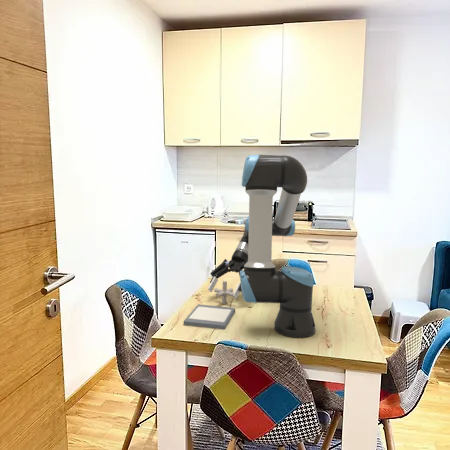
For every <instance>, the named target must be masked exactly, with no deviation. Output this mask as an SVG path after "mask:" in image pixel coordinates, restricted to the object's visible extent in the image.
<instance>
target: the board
mask: <svg viewBox="0 0 450 450" xmlns="http://www.w3.org/2000/svg"><path fill="white" fill-rule="evenodd" d="M235 313H236V307H231V306H218V305H208V304H197V305H196V306H195V307H194V308H193V309H192V311H191V312H190V313H189V314H188V315H187V316H186V318H185V319H184V320H183V326H188V327H197V328H198V327H200V328H207V329H215V330H217V329H218V330H226V328H227V327H228V325H229V323H230V321H231V320H232V317H233V316H234V314H235Z"/></svg>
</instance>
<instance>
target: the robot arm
mask: <svg viewBox="0 0 450 450" xmlns="http://www.w3.org/2000/svg"><path fill="white" fill-rule="evenodd" d="M307 185H308V174H307V171H306V169H305V167H304V166H303V164H302V163H301V162H300V161H299V160H298V159H296V158H295V157H292V156H290V155H285V154H284V155H278V154H277V155H276V154H273V155H271V154H250V155H249V154H248V156H247V157H245V160H244V165H243V171H242V177H241V186H242V187H243V188H244V187H245V189H244V190H245V192H246V194H247V195H248V197H249V198H248V200H249V203H248V207H249V208H248V216H247V218H246V219H245V223H244V229H243V234H242V236H241V239H240V240H239V242H238V244H237V246H236V248H235V250H234V252H233V253H232V256H231V259H230V260H228V259H226V258H224V260H223V261H222V262H221V263H220V264H219V265H218V266H217V267H216V268H215V269H213V270H212V271H211V272H210V275H211V279H210V282H209V283H210V284H209V285H208V287H207V290H208V292H210V293H212V292H213V290H214V289H215V288H216V285H217V283H218V281H219V280H218V279H220V278H221V277H222V276H224V275H226V274H228V273H230V272H233V273H234V272H235V273H237V274H238V275H239V282H238V283H237V286H236V288H235V290H233V291H234V293H233V296H234V297H233V298H234V299H238V296H239V294H240V293H241V296H242V299H243V301H244V302H246V303H253V304H263V303H264V304H279V310H278V311H277V314H276V317H275V320H274V324H273V329H274V331H275V332H276V333H278V334H280V335H283V336H285V337H289V338H290V337H291V338H297V339H298V338H299V337H301V338H308V337H312V336H313V335H314V334H315V333H316V323H315V319H314V316H313V313H312V312H313V311H312V308H313V307H312V306H313V292H314V289H313V288H314V276H313V274H312V273H311V271H309V270H307V269H304V268H302V267H297V266H296V267H295V266H289V265H287V266H282V267H281V268H280V270H276V265H275V264H274V263H273V262H272V251H273V250H272V249H273V248H272V247H273V244H272V243H273V237H274V236H276V237H293V236H294V235H295V232H296V221H295V220H294V216H295V213H296V211H297V208H298V205H299V201H300V198H301V196H302V193H304V192H305V190H306V188H307ZM278 188H281V192H280V195H279V200H278V204H277V209H276V214H275V216H274V218H273V204H274V203H273V200H274V198H273V197H274V195H276V194H277V192H278Z"/></svg>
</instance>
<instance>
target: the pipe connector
mask: <svg viewBox="0 0 450 450" xmlns="http://www.w3.org/2000/svg"><path fill="white" fill-rule="evenodd" d="M227 287H228V281H227V280H223V281H222V288H218V287H217V288H216V287H214V289H213V290H214V291H213V292H215V297H216V298H220V297H222V298H221V301H222V302H221V304H222V305H227V296H230V297H232V298H235V297H234V296H233V293H234V292H233V291H234V289H233V288H232V287H230V288H227Z"/></svg>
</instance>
